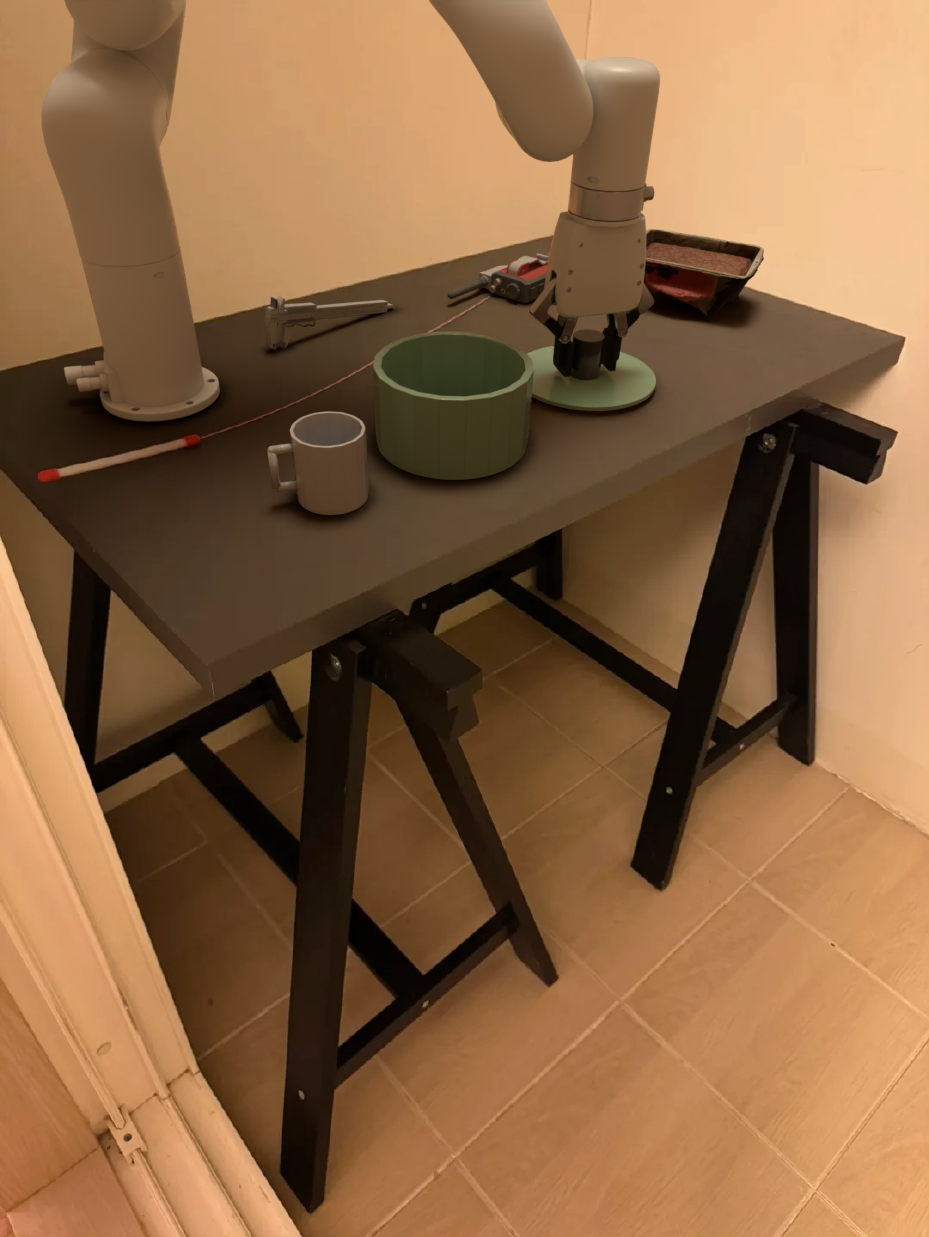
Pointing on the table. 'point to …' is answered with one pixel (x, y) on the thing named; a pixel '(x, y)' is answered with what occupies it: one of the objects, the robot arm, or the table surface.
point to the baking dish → (699, 268)
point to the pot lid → (590, 377)
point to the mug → (325, 462)
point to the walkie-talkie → (512, 279)
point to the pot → (452, 404)
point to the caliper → (311, 316)
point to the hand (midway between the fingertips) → (585, 367)
